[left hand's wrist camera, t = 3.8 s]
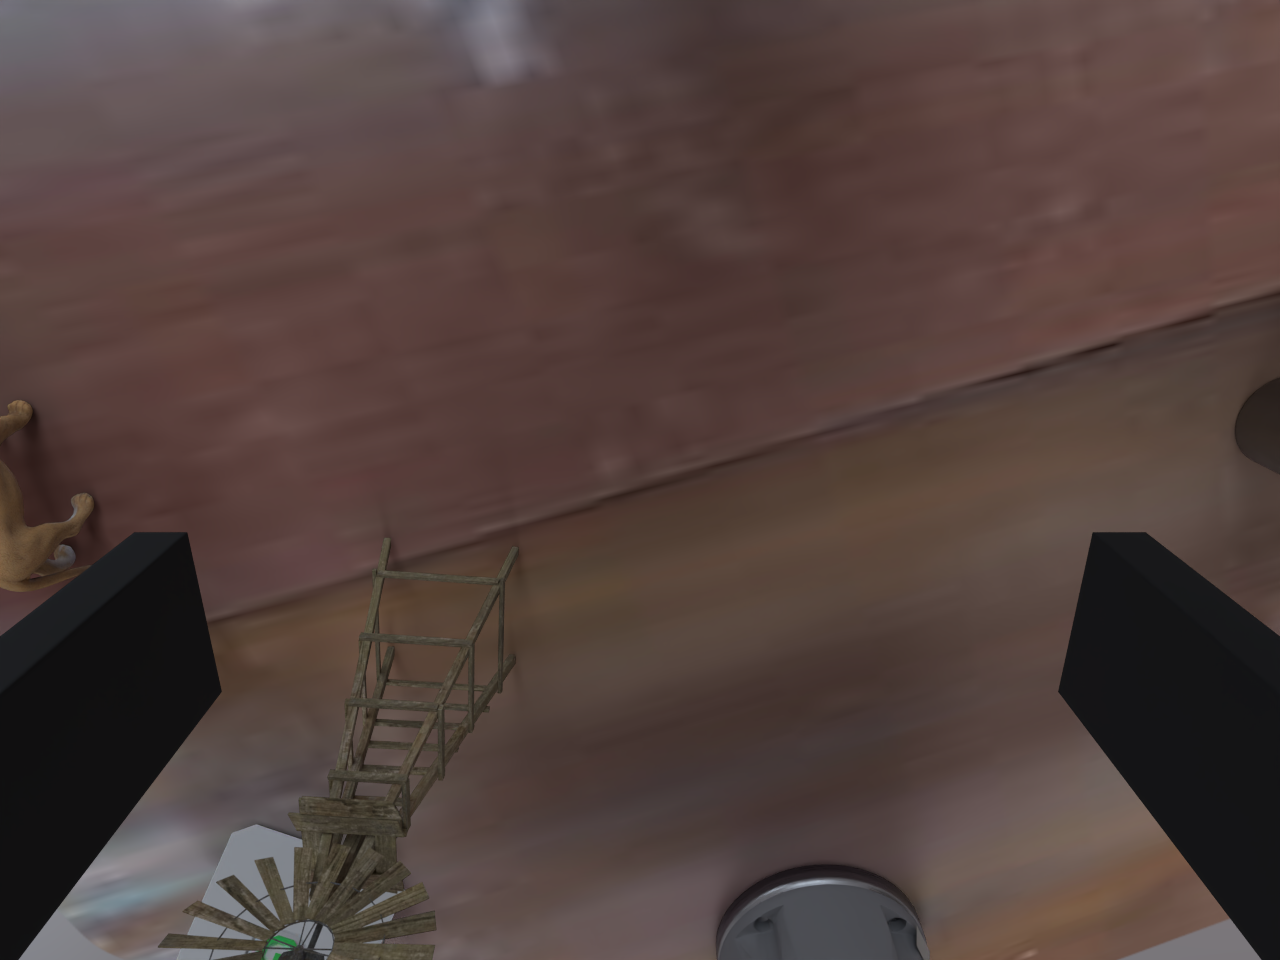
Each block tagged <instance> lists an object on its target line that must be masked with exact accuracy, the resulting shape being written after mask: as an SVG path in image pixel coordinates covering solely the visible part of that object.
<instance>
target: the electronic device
mask: <svg viewBox="0 0 1280 960" xmlns="http://www.w3.org/2000/svg"><path fill="white" fill-rule="evenodd" d="M294 847H303V844H302V840H301V839H298V838H296V837H293V836H290V835H287V834H284V833H281V832H278V831H275V830H272V829H269V828H266V827H263V826H260V825H257V824H256V825H253V826H250V827H247V828H244V829H241V830H239V831H236V832H233V833H232V834H231V836H230V838H229V841H228V843H227V845H226V848H225V850H224V852H223V854H222V857H221V859H220V861H219V863H218V866H217V868H216V870H215V873H214V875H213V877H212V879H211V882H210V884H209V886H208V889H207V891H206V893H205V895H204V898H203V900H202V903H205V904H207V905H210V906H212V907H214V908H217V909H219V910H222V911H224V912H226V913H229V914H231V915H234V916H238V915H239V914H240V913H241V912H242V911H243V910H245V908H244V907H243V906H242V905H241V904H240V903H238V902H237V901H236V900H235V899H234V898H233V897H232V896H230V895H229V894H228V893H227V892H226V891H225V890H224V889H223V888H221V887H220V886H219V885H218V884H217V883H216V882H217V881H219V880H222V879H224V878H227V877H229V876H231V875H235V876H236V877H237V878H238V879H239V880H240V881H241V882H242V883H243V884H244V885H245V886H246V887H247V888H248V889H249V890H250V891H251V892H252V893H253V894H254V895H255V896H256V897H257V898H258V899H261V898H263V897H265V896H267V895H268V892H267V889H266V887H265V885H264V883H263V880H262V878H261V876H260V873H259V871H258V869H257V866H256V864H255V862H254V860H258V859H263V858H269V857H273V858H274V861H275V864H276V866H277V869H278V872H279V875H280V878H281V880H282V883H283V886H284V888H286V887H289V886H293V885H294ZM362 890H363V889H361V891H362ZM361 891H360V892H361ZM404 891H405V890H404ZM285 892H286V895H287V897H288V900H289V903H290V906H291V909H292V911H293V887H292V888H288V889H285ZM400 892H402V891H398V893H400ZM398 893H397V894H398ZM309 894H310V891H309ZM394 895H396V894H395V893H389V892H385V893H384V894H382V895H381V896H380V897H378V898H377V899H375V900H374V901H373V902H374V904H375V905H376V904H378V903H380V902H382V901H384V900H386V899H388V898H390V897H392V896H394ZM261 902H262V903H263V904H264V905H265V906H266V907H267V908H268V909H269V910H270V911H271V912H272V913H273V914H274V915H275V916H276V917H277V918H278V919H279V917H278V915H277V913H276V910H275V908H274V906H273V903H272V901H271V899H270V896H268V897H266V898H264V899H262V900H261ZM310 902H311V901H310V899H309V904H310ZM309 904H308V907H309ZM371 906H373V904H372V903H370V904H369V905H367V906H366V907H364V908H363V909H362V910H360V911H359V912H361V911H363V910H365V909H367V908H369V907H371ZM359 912H358V913H359ZM356 914H357V913H356ZM394 914H395V913H394ZM394 914H392V915H390V916H387V917H385V918H383V922H387V921H391V920H392V918H393V916H394ZM239 918H241V919H243V920H246V921H248V922H251V923H253V924H255V925H258V926H260V927H263V928H265V929H267V930H269V929H268V928H267V927H265V926H264V925H263V924H262V923H261V922H260V921H259V920H258V919H256V918H255V917H254V916H253V915H252V914H251V913H250V912H249V911H247V910H246V911H245V912H243V913H242V914H241V915H240V916H239ZM307 920H309V919H307ZM296 922H297V921H296ZM314 923H315V922H306V923H305V927H304V931H303V935H302V939H301V943H300V945H302V943H303V941H304V940H305V938H306V936H307V935H308V933H309V931H310V929H311V928H312V926H313V924H314ZM379 923H382V920H381V919H380V920H378V921H376V922H373V923H371V924H369V925H366V926H370V925H374V924H379ZM316 925H317V924H315V926H314V927H313V929H312V931H311V932H310V934H309V936H308V937H307V939H306V941H305V943H304V944H303V947H304V948H307V947H308V945H309V942H310V940H311V938H312V935H313V933H314V930H315V928H316ZM285 926H287V925H285ZM303 926H304V922H300V923H296V924H293V925H290V926H288V927H286V928H285V929H283V930H281V931H280V932H278V933H277V934H276V935H275V936H274V937H273V938H275V939H277V940H280V941H282V942H285V943H287V944H290V945H293V946H295V947H296V946H297V945H299V941H300V937H301V933H302V929H303ZM366 926H364V927H366ZM225 928H226V927H223V926H220V925H218V924H215V923H212V922H209V921H206V920H204V919H201V918H198V917H195V918H194V920H193V923H192V925H191V927H190V930H189V932H188V934H187V935H194V936H207V937H220V935H221V934H222V932H223V931H224V930H225ZM276 932H277V931H276ZM276 932H275V933H276ZM333 936H334V935H333ZM221 938H233V939H246V940H259V941H262V940H260V939H257V938H254V937H251V936H248V935H246V934H243V933H240V932H237V931H234V930H232V929H229V928H227V929H226V931H225V932H224V934H223V935H222V936H221ZM267 941H269V939H268V940H267ZM366 943H374V944H381V943H382V940H377V941H372V942H366ZM332 945H333V938H332V934H331V933H330V931H329V930H328V928H327V927H325V926H323V928H322V930H321V933H320V935H319V938H318V940H317V943H316V945H315V947H314V948H318V949H332ZM267 947H278V948H293V947H290V946H287V945H285V944H282V943H280V942H277V941H275V940H272V939H271V940H270V942H269V944H268V945H267ZM262 951H264V949H263V950H262ZM286 951H291V950H284V949H265V953H264V956H263V957H264V960H278V958H279V957H280V955H281V954H282V953H283V952H286ZM313 951H316V952H319V953H322V954H326V955H329V954H330V952H331V951H330V950H313ZM211 952H212V949H186V948H181V950H180V952H179V955H178V957H177V959H176V960H209V958H210V955H211ZM252 952H258V951H242V950H214V951H213V954H212V957H211V960H214V959H220V958H225V957H230V956H236V955H241V954H247V953H252ZM324 959H325V960H326V959H327V956H324Z"/></svg>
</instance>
